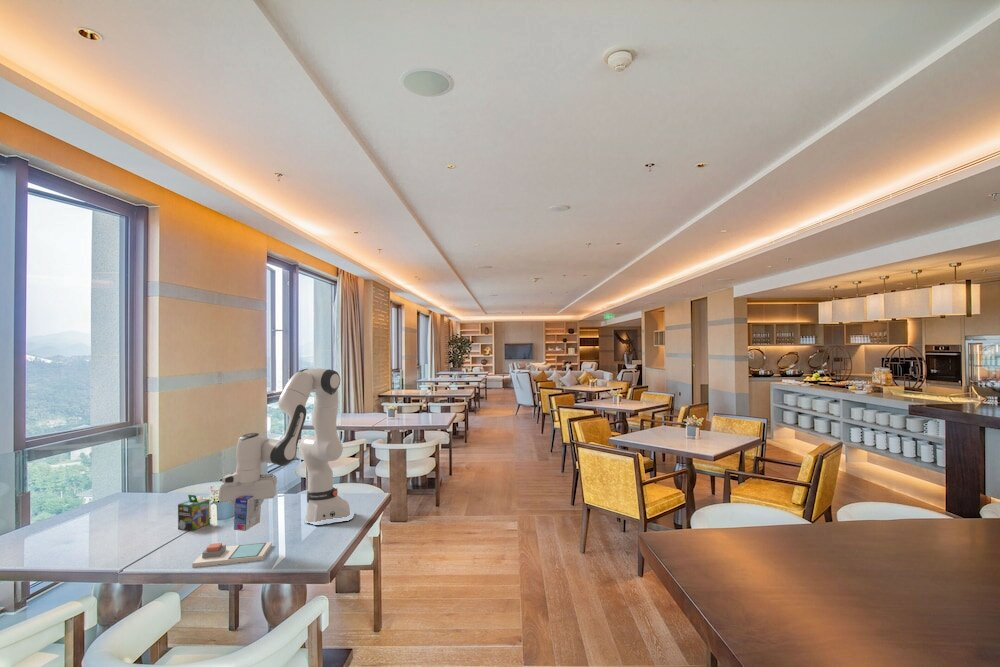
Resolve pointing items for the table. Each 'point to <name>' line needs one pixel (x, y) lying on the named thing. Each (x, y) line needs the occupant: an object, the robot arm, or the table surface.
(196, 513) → the chalk box
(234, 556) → the picture board
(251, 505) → the ink cartridge box
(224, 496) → the robot arm
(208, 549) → the button
